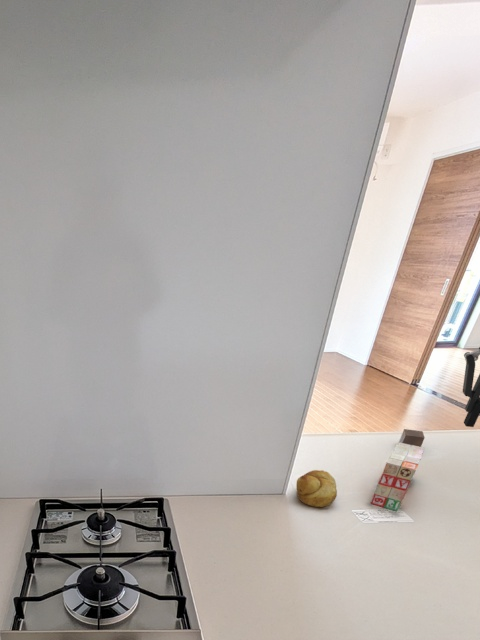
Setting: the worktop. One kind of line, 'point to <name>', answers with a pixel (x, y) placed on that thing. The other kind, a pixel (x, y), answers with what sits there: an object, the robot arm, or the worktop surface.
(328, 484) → the bread roll
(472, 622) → the worktop surface
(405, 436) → the walnut block
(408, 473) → the stack of blocks
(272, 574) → the worktop surface
